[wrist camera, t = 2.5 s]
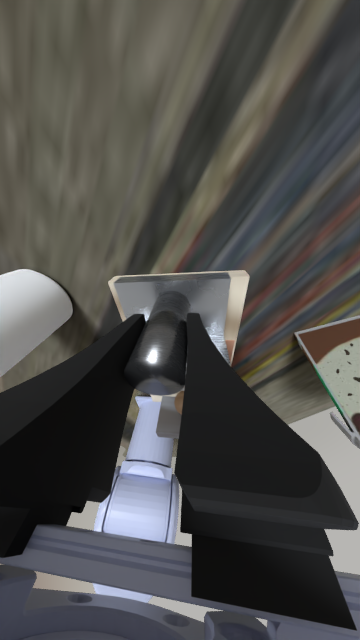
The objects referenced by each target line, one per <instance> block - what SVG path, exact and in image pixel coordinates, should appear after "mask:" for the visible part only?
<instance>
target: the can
mask: <svg viewBox="0 0 360 640" xmlns="http://www.w3.org/2000/svg"><path fill="white" fill-rule="evenodd" d="M72 313H73V308H72V302H71V299H70V297H69V296H68V294H67V293H66V291H65V290H64V289H63V288H62V287H61V286H60V285H59V284H58V283H57V282H55V281H54V280H53V279H51V278H49V277H48V276H46V275H43V274H41V273H38V272H35V271H32V270H28V269H20V270H16V271H12V272H9V273H6V274H3V275H0V377H1V376H2V375H4V374H5V373H6V372H7V371H8V370H10V369H11V368H12V367H13V366H14V365H15V364H17V363H18V362H19V361H20V360H21V359H23V358H24V357H25V356H26V355H27V354H29V353H30V352H31V351H32V350H33V349H34V348H36V347H37V346H38V345H39V344H40V343H42V342H43V341H44V340H45V339H46V338H47V337H49V336H50V335H51V334H52V333H53V332H54V331H56V330H57V329H58V328H59V327H60V326H62V325H63V324H64V323H65V322H66V321H67V320H68V319H69V318H70V317H71V316H72Z"/></svg>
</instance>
